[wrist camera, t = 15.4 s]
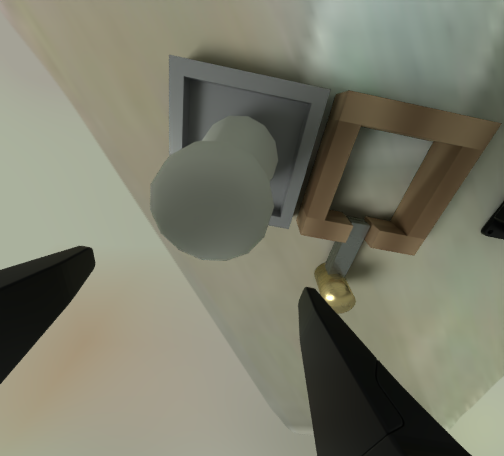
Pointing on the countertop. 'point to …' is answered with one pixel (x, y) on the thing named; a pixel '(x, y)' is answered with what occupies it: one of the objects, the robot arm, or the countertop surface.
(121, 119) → the countertop surface
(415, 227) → the socket block
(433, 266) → the countertop surface
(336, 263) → the key
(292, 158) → the tray
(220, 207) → the salt shaker
